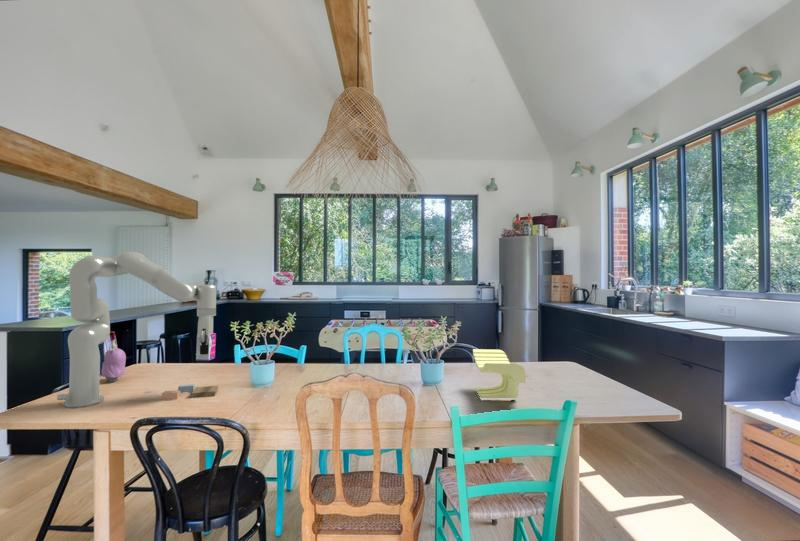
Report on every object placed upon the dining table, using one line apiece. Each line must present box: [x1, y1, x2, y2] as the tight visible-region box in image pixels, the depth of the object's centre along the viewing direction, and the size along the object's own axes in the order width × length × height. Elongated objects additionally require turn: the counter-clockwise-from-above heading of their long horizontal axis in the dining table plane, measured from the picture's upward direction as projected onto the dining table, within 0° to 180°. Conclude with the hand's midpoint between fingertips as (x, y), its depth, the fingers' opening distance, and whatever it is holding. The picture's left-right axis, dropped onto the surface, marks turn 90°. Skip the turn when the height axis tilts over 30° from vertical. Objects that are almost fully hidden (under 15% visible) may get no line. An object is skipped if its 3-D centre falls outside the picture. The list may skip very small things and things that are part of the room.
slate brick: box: [177, 383, 196, 394], centre depth 169 cm, size 6×3×3 cm, turn 107°
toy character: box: [100, 339, 127, 383], centre depth 186 cm, size 12×10×20 cm
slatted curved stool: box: [472, 348, 526, 399], centre depth 165 cm, size 30×16×18 cm, turn 178°
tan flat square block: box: [190, 385, 219, 399], centre depth 166 cm, size 9×9×2 cm
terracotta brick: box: [161, 390, 181, 401], centre depth 159 cm, size 6×3×3 cm, turn 100°
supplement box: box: [195, 332, 217, 362], centre depth 166 cm, size 6×6×12 cm
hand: (205, 352), depth 166 cm, fingers closed on supplement box, 7 cm apart
